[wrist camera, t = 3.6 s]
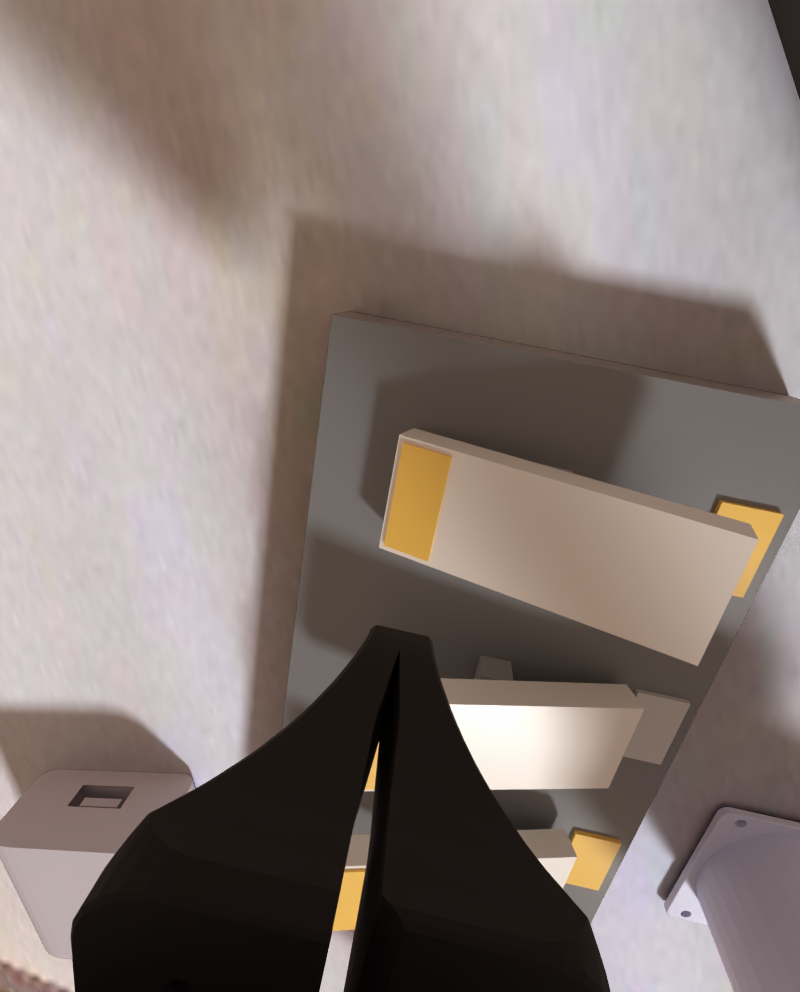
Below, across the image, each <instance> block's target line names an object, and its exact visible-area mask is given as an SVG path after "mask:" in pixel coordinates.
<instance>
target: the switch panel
mask: <svg viewBox="0 0 800 992" xmlns="http://www.w3.org/2000/svg"><path fill="white" fill-rule="evenodd" d="M413 428H416V429H419V430H423V431H426V432H430V433H433V434H437V435H440V436H444V437H447V438H451V439H454V440H458V441H461V442H465V443H468V444H472V445H475V446H479V447H482V448H486V449H489V450H493V451H496V452H500V453H503V454H507V455H510V456H514V457H517V458H521V459H524V460H528V461H531V462H535V463H538V464H542V465H545V466H549V467H552V468H556V469H559V470H563V471H566V472H570V473H573V474H577V475H580V476H584V477H587V478H591V479H594V480H598V481H601V482H605V483H608V484H612V485H615V486H619V487H622V488H626V489H629V490H633V491H636V492H640V493H643V494H647V495H650V496H654V497H658V498H661V499H665V500H668V501H672V502H675V503H679V504H682V505H686V506H689V507H693V508H696V509H700V510H703V511H707V512H710V513H714V514H717V515H721V516H724V517H728V518H731V519H735V520H738V521H742V522H745V523H749V524H751V526H752V528H753V530H754V532H755V533H756V535H757V537H758V539H759V541H758V543H757V545H756V547H755V549H754V551H753V553H752V555H751V557H750V559H749V561H748V564H747V566H746V568H745V570H744V572H743V574H742V576H741V578H740V580H739V582H738V584H737V586H736V588H735V590H734V592H733V595H732V597H731V599H730V601H729V603H728V605H727V607H726V609H725V611H724V613H723V615H722V617H721V619H720V621H719V623H718V625H717V628H716V630H715V632H714V634H713V636H712V638H711V640H710V642H709V644H708V646H707V648H706V650H705V652H704V654H703V656H702V659H701V661H700V663H699V665H698V666H696V665H693V664H691V663H688V662H685V661H683V660H680V659H677V658H675V657H672V656H669V655H666V654H664V653H661V652H658V651H656V650H653V649H650V648H648V647H645V646H642V645H640V644H637V643H634V642H631V641H629V640H626V639H623V638H621V637H618V636H615V635H613V634H610V633H607V632H605V631H602V630H599V629H596V628H594V627H591V626H588V625H586V624H583V623H580V622H578V621H575V620H572V619H570V618H567V617H564V616H561V615H559V614H556V613H553V612H551V611H548V610H545V609H543V608H540V607H537V606H535V605H532V604H529V603H526V602H524V601H521V600H518V599H516V598H513V597H510V596H508V595H505V594H502V593H500V592H497V591H494V590H491V589H489V588H486V587H483V586H481V585H478V584H475V583H473V582H470V581H467V580H465V579H462V578H459V577H456V576H454V575H451V574H448V573H446V572H443V571H440V570H438V569H435V568H432V567H430V566H427V565H424V564H421V563H419V562H416V561H413V560H411V559H408V558H405V557H403V556H400V555H397V554H395V553H392V552H389V551H386V550H384V549H381V548H379V544H380V538H381V533H382V527H383V522H384V516H385V511H386V505H387V500H388V494H389V489H390V483H391V478H392V472H393V467H394V461H395V456H396V450H397V445H398V439H399V434H402V433H404V432H406V431H408V430H410V429H413ZM799 509H800V399H797V398H794V397H791V396H787V395H781V394H776V393H771V392H766V391H761V390H756V389H750V388H745V387H740V386H735V385H730V384H724V383H719V382H714V381H709V380H704V379H699V378H693V377H688V376H683V375H678V374H673V373H668V372H662V371H657V370H652V369H647V368H642V367H637V366H631V365H626V364H621V363H616V362H611V361H605V360H600V359H595V358H590V357H585V356H580V355H574V354H569V353H564V352H559V351H554V350H549V349H543V348H538V347H533V346H528V345H523V344H517V343H512V342H507V341H502V340H497V339H492V338H486V337H481V336H476V335H471V334H466V333H461V332H455V331H450V330H445V329H440V328H435V327H429V326H424V325H419V324H414V323H409V322H404V321H398V320H393V319H388V318H383V317H378V316H373V315H367V314H362V313H357V312H352V311H349V312H344V313H339V314H333V315H332V319H331V327H330V335H329V344H328V352H327V360H326V369H325V377H324V385H323V393H322V402H321V410H320V418H319V427H318V435H317V443H316V451H315V460H314V468H313V476H312V485H311V493H310V501H309V509H308V518H307V526H306V534H305V543H304V551H303V559H302V567H301V576H300V584H299V592H298V601H297V609H296V617H295V625H294V634H293V642H292V650H291V659H290V667H289V675H288V683H287V692H286V700H285V708H284V717H283V725H282V730H283V729H284V728H285V727H286V726H288V725H289V724H290V723H291V722H292V721H293V720H295V719H296V718H297V717H298V716H299V715H300V714H301V713H302V712H303V711H305V710H306V709H307V708H308V707H309V706H310V705H311V704H312V703H313V702H314V701H315V700H316V699H317V698H318V697H319V696H320V695H321V694H322V693H323V691H324V690H325V689H326V688H327V687H328V686H329V685H330V684H331V683H332V682H333V681H334V680H335V679H336V678H337V676H338V675H339V674H340V673H341V672H342V670H343V669H344V668H345V667H346V665H347V664H348V663H349V662H350V661H351V659H352V658H353V657H354V655H355V654H356V653H357V651H358V650H359V648H360V647H361V645H362V644H363V642H364V641H365V639H366V637H367V636H368V634H369V632H370V630H371V628H372V627H374V626H376V625H380V626H384V627H389V628H393V629H398V630H402V631H407V632H411V633H416V634H420V635H425V636H429V638H430V639H431V641H432V644H433V651H434V656H435V660H436V664H437V668H438V671H439V675H440V678H448V679H478V680H509V681H539V682H569V683H599V684H627V686H628V687H629V688H630V690H631V691H632V693H633V694H634V695H635V697H636V698H637V699H638V701H639V702H640V703H641V705H642V706H643V707H644V711H643V713H642V715H641V718H640V720H639V722H638V724H637V726H636V729H635V731H634V733H633V735H632V737H631V740H630V742H629V744H628V746H627V749H626V751H625V753H624V755H623V757H622V760H621V762H620V764H619V766H618V768H617V771H616V773H615V775H614V777H613V779H612V782H611V784H610V786H609V788H593V789H508V790H491V791H492V793H493V795H494V796H495V798H496V800H497V801H498V803H499V804H500V806H501V807H502V809H503V810H504V812H505V813H506V815H507V816H508V818H509V819H510V821H511V822H512V824H513V825H514V827H515V828H516V830H538V829H565V830H566V833H567V835H568V837H569V839H570V842H571V844H572V846H573V848H574V851H575V853H576V855H577V859H576V861H575V863H574V865H573V868H572V870H571V872H570V874H569V876H568V879H567V881H566V883H565V885H564V887H563V890H564V891H565V892H566V893H567V894H568V895H569V897H570V898H571V899H572V900H573V901H574V902H575V903H576V905H577V906H578V907H579V908H580V909H581V910H582V911H583V913H584V914H585V915H586V916H587V918H588V919H589V922H590V924H591V922H592V920H593V918H594V916H595V914H596V912H597V910H598V908H599V906H600V904H601V902H602V900H603V898H604V896H605V894H606V892H607V890H608V888H609V886H610V884H611V882H612V880H613V878H614V876H615V874H616V872H617V870H618V868H619V866H620V864H621V862H622V860H623V858H624V856H625V854H626V852H627V850H628V848H629V846H630V844H631V842H632V840H633V838H634V836H635V834H636V832H637V830H638V828H639V826H640V824H641V822H642V820H643V818H644V816H645V814H646V812H647V810H648V808H649V806H650V804H651V802H652V801H653V799H654V797H655V795H656V793H657V791H658V789H659V787H660V785H661V783H662V781H663V779H664V777H665V775H666V773H667V771H668V769H669V767H670V765H671V763H672V761H673V759H674V757H675V755H676V753H677V751H678V749H679V747H680V745H681V743H682V741H683V739H684V737H685V735H686V733H687V731H688V729H689V727H690V725H691V723H692V721H693V719H694V717H695V715H696V713H697V711H698V709H699V707H700V705H701V703H702V701H703V699H704V697H705V695H706V693H707V691H708V689H709V687H710V685H711V683H712V681H713V679H714V677H715V676H716V674H717V672H718V670H719V668H720V666H721V664H722V662H723V660H724V658H725V656H726V654H727V652H728V650H729V648H730V646H731V644H732V642H733V640H734V638H735V636H736V634H737V632H738V630H739V628H740V626H741V624H742V622H743V620H744V618H745V616H746V614H747V612H748V610H749V608H750V606H751V604H752V602H753V600H754V598H755V596H756V594H757V592H758V590H759V588H760V586H761V584H762V582H763V580H764V578H765V576H766V574H767V572H768V570H769V568H770V566H771V564H772V562H773V560H774V558H775V556H776V554H777V552H778V550H779V549H780V547H781V545H782V543H783V541H784V539H785V537H786V535H787V533H788V531H789V529H790V527H791V525H792V523H793V521H794V519H795V517H796V515H797V513H798V511H799ZM373 801H374V791H364V794H363V797H362V801H361V804H360V807H359V811H358V814H357V817H356V821H355V824H354V828H353V831H352V835H364V834H370V833H371V822H372V811H373Z"/></svg>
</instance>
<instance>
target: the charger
mask: <svg viewBox="0 0 800 992" xmlns="http://www.w3.org/2000/svg"><path fill="white" fill-rule="evenodd" d="M87 785H97V786H87ZM111 786H122V787H111ZM194 789H195V787H194V783H193V780H192V778H191V776H189V775H188V774H177V773H151V772H123V771H96V770H66V769H54V770H51V771H48V772H46V773H44V774H42V775H41V776H40V777H38V778H37V779H36V781H35V782H34V783H33V784H32V785H31V786H30V787H29V789H28V790H27V791H26V792H25V793H24V794H23V795H22V797H21V798H20V799H19V800H18V801H17V802H16V803H15V805H14V806H13V807H12V808H11V809H10V810H9V811H8V813H7V814H6V815H5V816H4V817H3V818H2V819H1V821H0V859H1V861H2V863H3V865H4V867H5V869H6V871H7V873H8V875H9V877H10V879H11V881H12V883H13V885H14V887H15V889H16V891H17V893H18V895H19V897H20V899H21V901H22V903H23V905H24V907H25V909H26V911H27V913H28V915H29V917H30V919H31V921H32V923H33V925H34V927H35V929H36V931H37V934H38V936H39V938H40V940H41V942H42V944H43V946H44V948H45V950H46V951H47V952H48V953H49V954H50V955H52V956H54V957H57V958H62V959H71V960H72V949H71V937H70V936H71V928H72V920H73V919H74V917H75V916H76V914H77V912H78V911H79V909H80V907H81V906H82V904H83V902H84V901H85V899H86V898H87V896H88V894H89V893H90V891H91V889H92V888H93V886H94V884H95V883H96V881H97V879H98V878H99V876H100V875H101V873H102V871H103V870H104V868H105V867H106V865H107V864H108V863H109V861H110V860H111V858H112V857H113V856H114V854H115V853H116V852H117V851H118V849H119V848H120V847H121V846H122V844H123V843H124V842H125V840H126V839H127V838H128V837H129V835H130V834H131V833H132V832H133V831H134V829H135V828H136V827H137V826H138V825H139V824H140V822H141V821H142V820H143V819H144V818H145V817H146V816H147V815H148V813H150V812H152V811H154V810H156V809H158V808H160V807H162V806H164V805H166V804H167V803H169V802H171V801H173V800H175V799H177V798H179V797H181V796H183V795H184V794H186V793H188V792H190V791H192V790H194Z"/></svg>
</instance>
